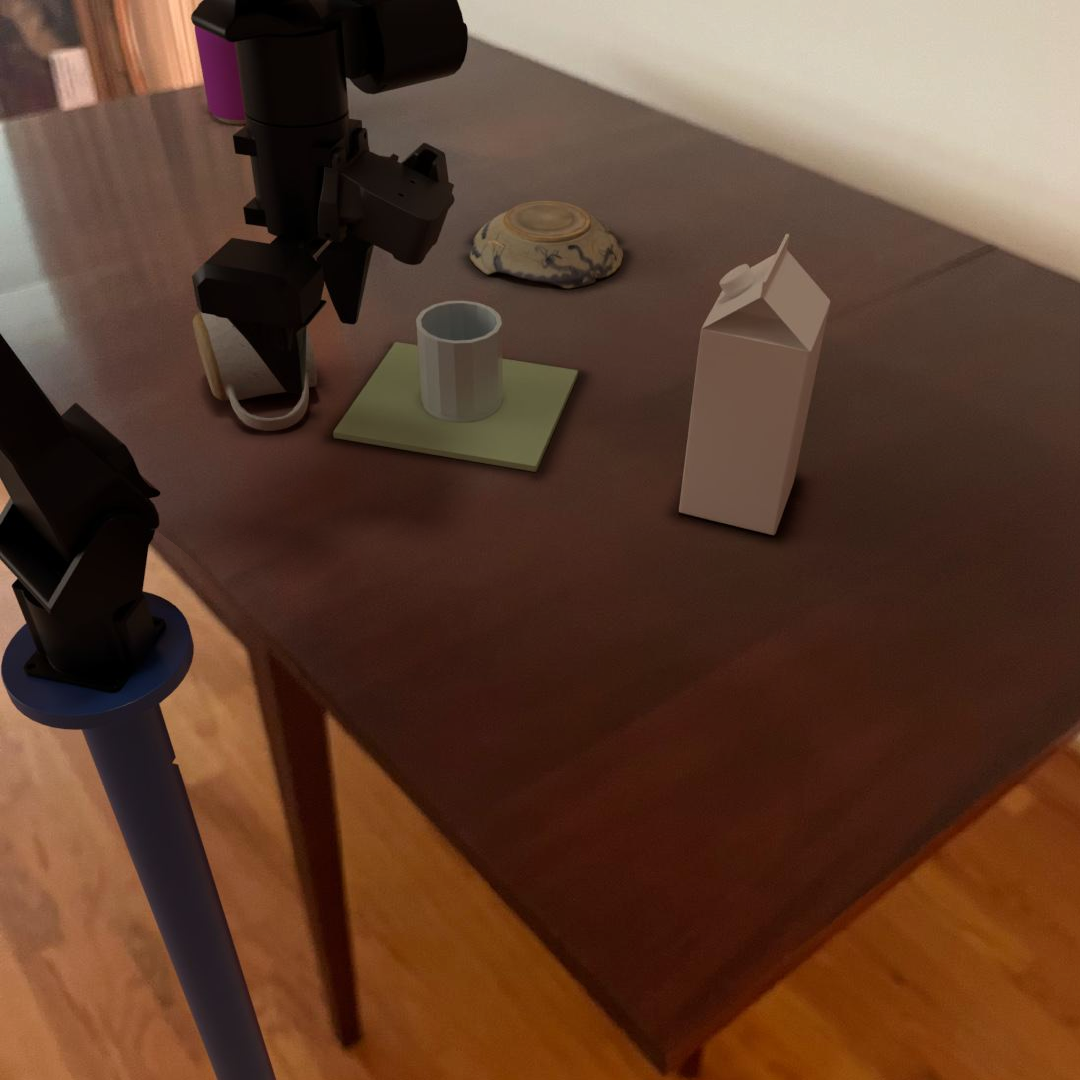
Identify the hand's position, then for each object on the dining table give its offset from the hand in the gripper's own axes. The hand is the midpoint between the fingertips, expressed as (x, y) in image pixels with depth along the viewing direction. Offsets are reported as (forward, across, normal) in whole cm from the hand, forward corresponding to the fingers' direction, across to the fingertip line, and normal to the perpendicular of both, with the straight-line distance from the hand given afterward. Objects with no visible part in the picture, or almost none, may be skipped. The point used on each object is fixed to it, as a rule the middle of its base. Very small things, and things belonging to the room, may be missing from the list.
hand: (323, 355), depth 74 cm
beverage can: (+11, +66, +38) cm, 77 cm away
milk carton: (+11, +8, -28) cm, 31 cm away
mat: (+11, +14, -5) cm, 19 cm away
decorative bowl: (+11, +42, -5) cm, 44 cm away
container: (+11, +14, -5) cm, 18 cm away
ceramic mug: (+12, +11, +10) cm, 19 cm away
